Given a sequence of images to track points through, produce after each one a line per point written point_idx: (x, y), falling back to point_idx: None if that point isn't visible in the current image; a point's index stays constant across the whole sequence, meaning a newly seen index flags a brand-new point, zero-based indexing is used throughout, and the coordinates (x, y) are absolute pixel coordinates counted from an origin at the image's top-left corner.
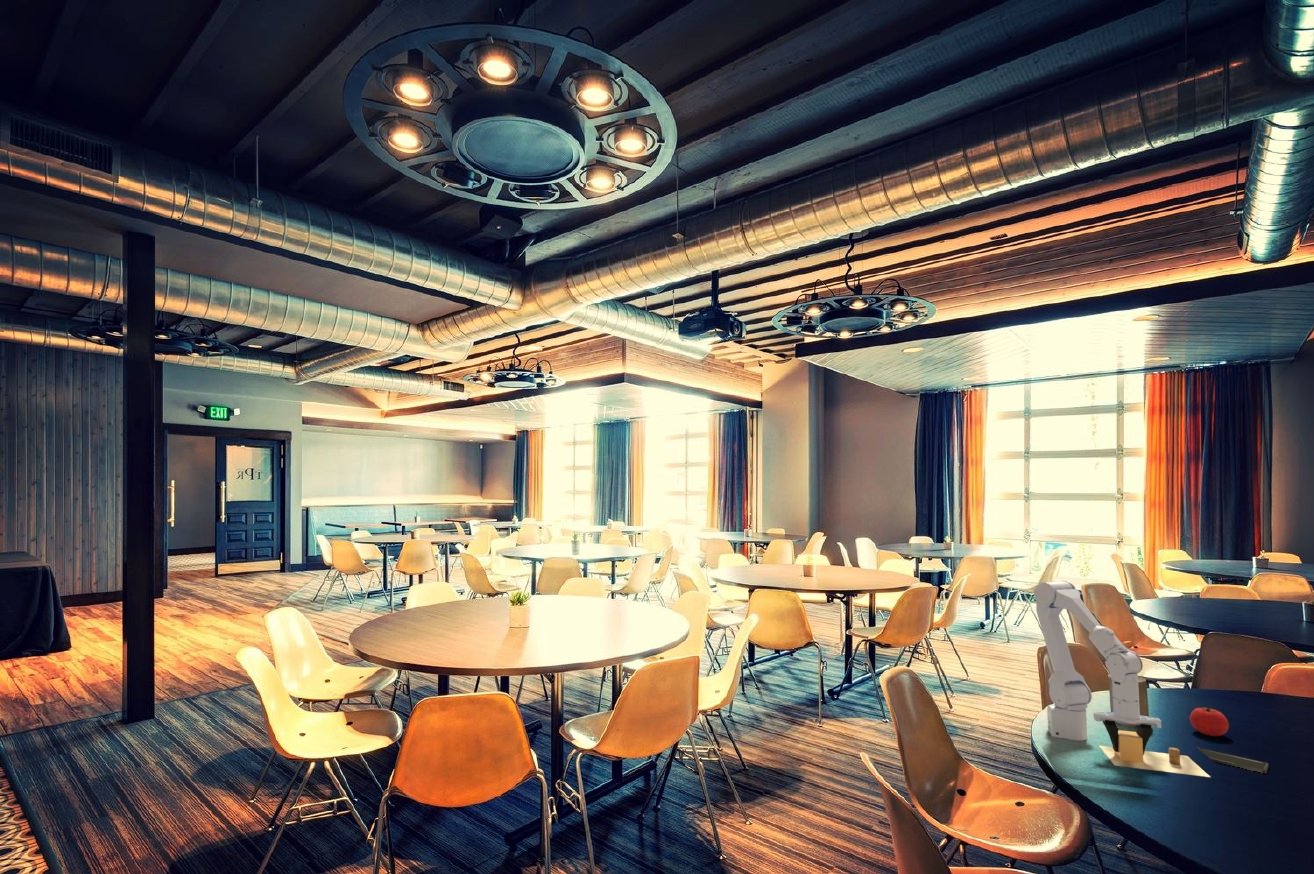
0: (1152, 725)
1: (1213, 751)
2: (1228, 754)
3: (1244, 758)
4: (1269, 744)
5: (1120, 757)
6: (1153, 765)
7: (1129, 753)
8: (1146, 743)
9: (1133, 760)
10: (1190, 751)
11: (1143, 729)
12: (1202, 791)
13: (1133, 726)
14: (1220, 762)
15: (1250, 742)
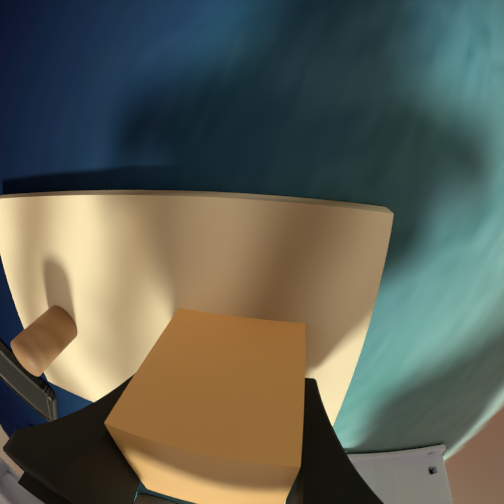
0: (21, 481)
1: (28, 401)
2: (9, 384)
3: None
4: (3, 411)
5: (304, 333)
6: (136, 275)
7: (243, 349)
8: (103, 396)
9: (230, 319)
10: (61, 413)
11: (50, 477)
12: (45, 53)
13: (164, 501)
14: (6, 350)
15: (17, 421)
